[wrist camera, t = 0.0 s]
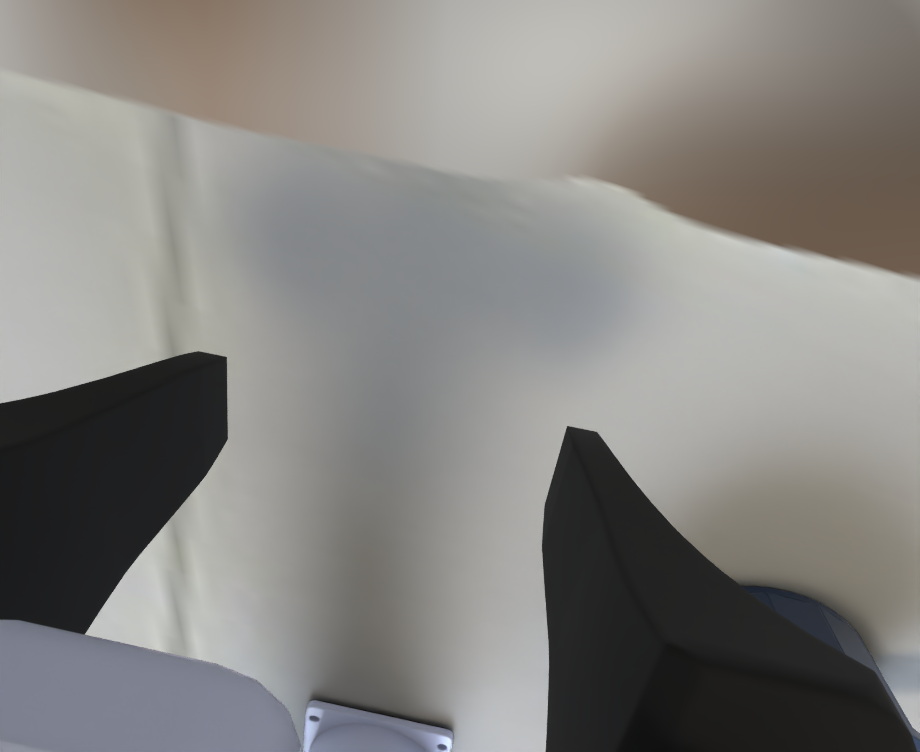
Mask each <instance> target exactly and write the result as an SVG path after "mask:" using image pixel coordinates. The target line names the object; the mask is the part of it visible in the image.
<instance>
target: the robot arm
mask: <svg viewBox="0 0 920 752" xmlns="http://www.w3.org/2000/svg"><path fill="white" fill-rule="evenodd" d="M227 440H228V422H227V357H224V356H219V355H214V354H209V353H204V352H199V351H198V352H193V353H187V354H183V355H179V356H176V357H172V358H169V359H165V360H162V361H159V362H155V363H152V364H149V365H146V366H142V367H139V368H136V369H133V370H129V371H126V372H123V373H120V374H116V375H113V376H110V377H107V378H103V379H100V380H96V381H92V382H89V383H85V384H81V385H78V386H74V387H70V388H67V389H63V390H59V391H56V392H52V393H48V394H44V395H39V396H35V397H30V398H26V399H21V400H16V401H11V402H6V403H1V404H0V752H300V747H301V745H300V742H299V739H298V736H297V733H296V729H295V726H294V723H293V720H292V717H291V714H290V712H289V711H288V709H287V707H286V706H285V705H284V704H283V703H281V702H280V701H279V700H278V699H277V698H276V697H275V696H274V695H273V694H272V693H270V692H269V691H268V690H267V689H266V688H265V687H264V686H263V685H262V684H261V683H259V682H258V681H257V680H255V679H253V678H250V677H248V676H245V675H243V674H240V673H238V672H235V671H233V670H230V669H228V668H225V667H223V666H220V665H218V664H215V663H211V662H206V661H202V660H197V659H192V658H188V657H183V656H179V655H174V654H170V653H165V652H161V651H156V650H152V649H147V648H143V647H138V646H133V645H129V644H124V643H120V642H115V641H111V640H106V639H102V638H97V637H93V636H88V635H85V633H86V632H87V630H88V628H89V627H90V625H91V624H92V622H93V621H94V619H95V617H96V616H97V614H98V613H99V611H100V610H101V608H102V607H103V605H104V604H105V602H106V601H107V599H108V598H109V596H110V595H111V594H112V592H113V591H114V589H115V588H116V586H117V585H118V583H119V582H120V580H121V579H122V577H123V576H124V574H125V573H126V572H127V570H128V569H129V568H130V566H131V565H132V564H133V563H134V561H135V560H136V559H137V557H138V556H139V555H140V554H141V552H142V551H143V550H144V549H145V548H146V547H147V545H148V544H149V543H150V542H151V541H152V539H153V538H154V537H155V536H156V535H157V533H158V532H159V531H160V530H161V529H162V528H163V526H164V525H165V524H166V523H167V522H168V521H169V519H170V518H171V517H172V516H173V515H174V513H175V512H176V511H177V510H178V509H179V508H180V506H181V505H182V504H183V503H184V502H185V500H186V499H187V498H188V497H189V496H190V494H191V493H192V492H193V491H194V489H195V488H196V487H197V486H198V485H199V483H200V482H201V481H202V480H203V478H204V477H205V476H206V474H207V473H208V471H209V470H210V468H211V466H212V465H213V463H214V462H215V460H216V458H217V457H218V455H219V453H220V452H221V450H222V448H223V446H224V445H225V443H226V441H227ZM542 553H543V569H544V584H545V598H546V611H547V625H548V639H549V690H548V718H547V739H546V752H917V749H916V746H915V743H914V740H913V737H912V735H911V733H910V731H909V729H908V727H907V726H906V724H905V722H904V720H903V719H902V717H901V715H900V713H899V712H898V710H897V708H896V706H895V705H894V703H893V701H892V699H891V698H890V696H889V694H888V692H887V691H886V689H885V687H884V685H883V684H882V682H881V680H880V679H879V677H878V676H877V674H876V672H875V671H874V670H872V669H870V668H868V667H867V666H865V665H863V664H861V663H860V662H858V661H856V660H854V659H853V658H851V657H849V656H847V655H846V654H844V653H842V652H841V651H839V650H837V649H835V648H834V647H832V646H830V645H828V644H827V643H825V642H823V641H821V640H820V639H818V638H816V637H814V636H813V635H811V634H809V633H808V632H806V631H805V630H803V629H802V628H800V627H799V626H797V625H796V624H794V623H793V622H791V621H790V620H788V619H786V618H785V617H783V616H782V615H780V614H779V613H777V612H776V611H774V610H773V609H771V608H770V607H769V606H767V605H766V604H764V603H763V602H762V601H760V600H759V599H757V598H756V597H755V596H753V595H752V594H750V593H749V592H748V591H746V590H745V589H744V588H743V587H741V586H740V585H739V584H738V583H736V582H735V581H734V580H732V579H731V578H730V577H729V576H727V575H726V574H725V573H724V572H722V571H721V570H720V569H719V568H717V567H716V566H715V565H714V564H713V563H712V562H710V561H709V560H708V559H707V558H706V557H705V556H703V555H702V554H701V553H700V552H699V551H698V550H697V549H696V548H695V547H694V546H693V545H692V544H691V543H690V542H688V541H687V540H686V539H685V538H684V537H683V536H682V535H681V534H680V533H679V532H678V531H677V530H676V529H675V528H674V527H673V526H672V525H671V524H670V523H669V522H668V521H667V519H666V518H665V517H664V516H663V515H662V514H661V513H660V512H659V511H658V510H657V508H656V507H655V506H654V505H653V504H652V503H651V502H650V500H649V499H648V498H647V497H646V496H645V495H644V493H643V492H642V491H641V490H640V488H639V487H638V486H637V485H636V483H635V482H634V481H633V480H632V478H631V477H630V476H629V474H628V473H627V472H626V471H625V469H624V468H623V467H622V465H621V464H620V462H619V461H618V460H617V458H616V457H615V456H614V454H613V453H612V452H611V450H610V449H609V447H608V446H607V445H606V443H605V442H604V441H603V439H602V438H601V437H600V435H599V434H598V433H597V432H594V431H589V430H584V429H579V428H575V427H570V426H567V429H566V432H565V436H564V439H563V443H562V446H561V450H560V453H559V457H558V460H557V464H556V467H555V471H554V474H553V478H552V481H551V485H550V488H549V492H548V495H547V499H546V502H545V509H544V523H543V540H542ZM453 739H454V735H453V733H452V732H451V731H450V730H447V729H444V728H439V727H435V726H430V725H426V724H421V723H417V722H412V721H408V720H403V719H399V718H394V717H390V716H385V715H380V714H376V713H371V712H367V711H362V710H358V709H353V708H349V707H344V706H340V705H335V704H331V703H326V702H322V701H316V700H314V701H310V702H309V703H308V706H307V708H306V715H305V728H304V741H303V752H451V749H452V745H453Z"/></svg>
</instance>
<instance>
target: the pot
mask: <svg viewBox="0 0 920 752" xmlns="http://www.w3.org/2000/svg"><path fill="white" fill-rule="evenodd" d="M741 587H743V588H744V589H745V590H746V591H748V592H749V593H750V594H752V595H753V596H755V597H756V598H757V599H759V600H760V601H762V602H763V603H764V604H766V605H767V606H769V607H770V608H771V609H773V610H774V611H776V612H777V613H779V614H780V615H782V616H783V617H785V618H786V619H788V620H790V621H791V622H793V623H794V624H796V625H797V626H799V627H800V628H802V629H803V630H805V631H806V632H808V633H809V634H811V635H813V636H814V637H816V638H818V639H820V640H821V641H823V642H825V643H827V644H828V645H830V646H832V647H834V648H835V649H837V650H839V651H841V652H842V653H844V654H846V655H847V656H849V657H851V658H853V659H854V660H856V661H858V662H860V663H861V664H863V665H865V666H867V667H868V668H870V669H872V670H874V671H875V672H876V674H877V676H878V677H879V679H880V680H881V682H882V684H883V685H884V687H885V689H886V691H887V692H888V694H889V696H890V698H891V699H892V701H893V703H894V705H895V706H896V708H897V710H898V712H899V713H900V715H901V717H902V719H903V720H904V722H905V723H906V724H907V725H909V726H911V724H910V723H909V721H908V719H907V717H906V716H905V714H904V712H903V710H902V709H901V707H900V705H899V703H898V702H897V700H896V698H895V696H894V695H893V693H892V691H891V690H890V688H889V686H888V684H887V683H886V681H885V679H884V677H883V676H882V674H881V672H880V670H879V669H878V667H877V665H876V664H875V662H874V660H873V658H872V657H871V655H870V653H869V651H868V650H867V648H866V646H865V644H864V643H863V641H862V639H861V638H860V636H859V634H858V633H857V632H856V630H854V629H853V628H852V627H851V626H850V624H849V623H848V622H847V621H846V620H845V619H843V618H842V617H841V616H840V615H838V614H837V613H836V612H835V611H833V610H832V609H830V608H828V607H826V606H825V605H823V604H821V603H819V602H817V601H815V600H812V599H810V598H808V597H805V596H802V595H799V594H796V593H792V592H789V591H784V590H779V589H774V588H765V587H754V586H741ZM911 727H912V726H911Z"/></svg>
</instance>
